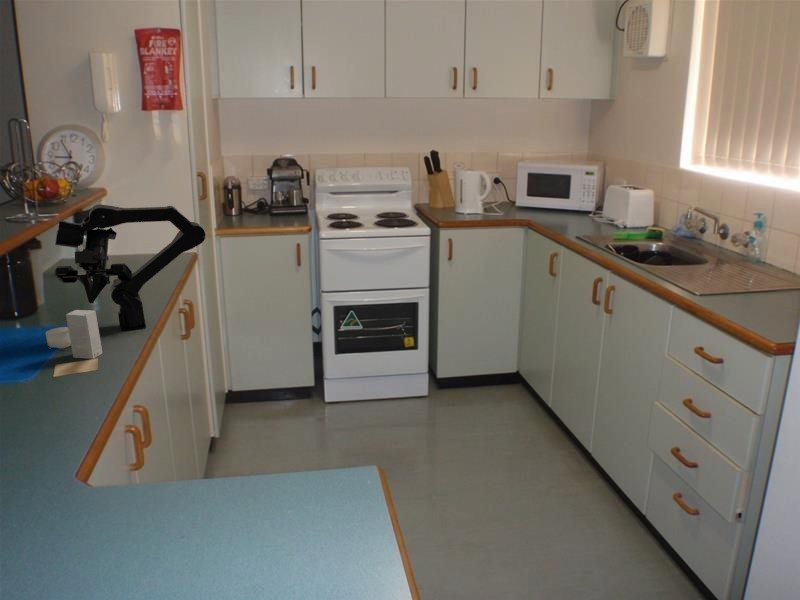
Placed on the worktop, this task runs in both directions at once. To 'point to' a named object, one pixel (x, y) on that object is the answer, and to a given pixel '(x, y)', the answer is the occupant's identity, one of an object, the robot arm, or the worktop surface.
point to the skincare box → (84, 334)
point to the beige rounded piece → (58, 337)
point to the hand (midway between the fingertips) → (90, 302)
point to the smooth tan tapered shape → (76, 367)
